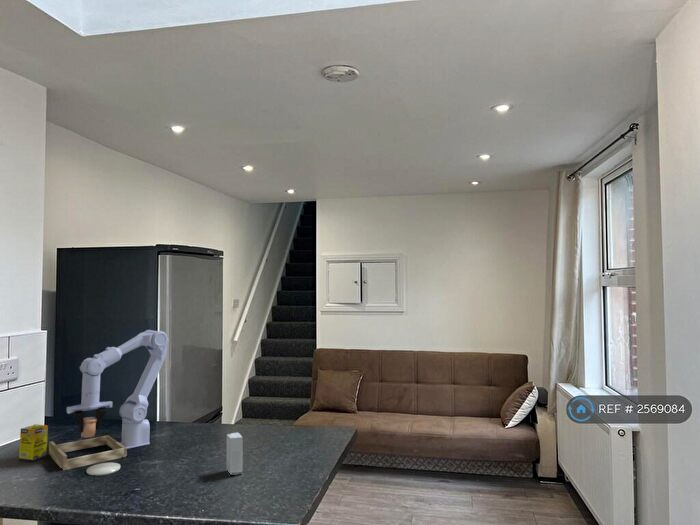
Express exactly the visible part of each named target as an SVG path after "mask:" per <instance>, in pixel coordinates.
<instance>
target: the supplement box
mask: <svg viewBox="0 0 700 525" xmlns="http://www.w3.org/2000/svg"><path fill="white" fill-rule="evenodd" d="M48 428H49V425H46V424H36V423H35V424H32V425H29V426H26V427H22V428H20V433H19V434H20V435H19V437H20V438H19V449H18V450H19V451H18V452H19V453H18V461H21V462H29V461H31V462H30V463H34V462H35V461H38V460H40V458H41V459H42V458H46V457H47V451H48V450H47V448H48V433H49V431H48V430H49V429H48ZM33 461H34V462H33Z"/></svg>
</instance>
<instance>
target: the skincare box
mask: <svg viewBox="0 0 700 525" xmlns="http://www.w3.org/2000/svg"><path fill="white" fill-rule="evenodd" d="M243 438H244V437H243V436H242V435H241V434H240V433H239V432H232V433H227V434H226V471H227V470H228V472H229V473H230V474H232V473H238V472H242V471H243V468H244V467H243V466H244V464H243V457H244V456H243V451H244V450H243V448H244V447H243V445H244V444H243ZM228 472H227V473H228ZM243 472H244V471H243ZM229 473H228V474H229Z"/></svg>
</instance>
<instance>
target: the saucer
mask: <svg viewBox="0 0 700 525" xmlns="http://www.w3.org/2000/svg"><path fill="white" fill-rule="evenodd" d="M120 469H121V464H120V463H117V462H100V463H95V464H92V465H91V466H89V467H87V468H86V474H87V475H89V476H94V475H95V476H94V477H96V476H99V477H100V476H106V475H107V476H108V475H111V474H113V473H116V472H118V471H119V470H120Z"/></svg>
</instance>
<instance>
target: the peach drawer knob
mask: <svg viewBox="0 0 700 525" xmlns="http://www.w3.org/2000/svg"><path fill="white" fill-rule="evenodd" d="M97 419H98V418H96V416H89V417H88V416H87V417H84V418H83V432H82V433H81V434H80V437H81V438H84V439H85V438H86V439H90V438H95V437H96V430H97V429H96V421H97Z"/></svg>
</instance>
